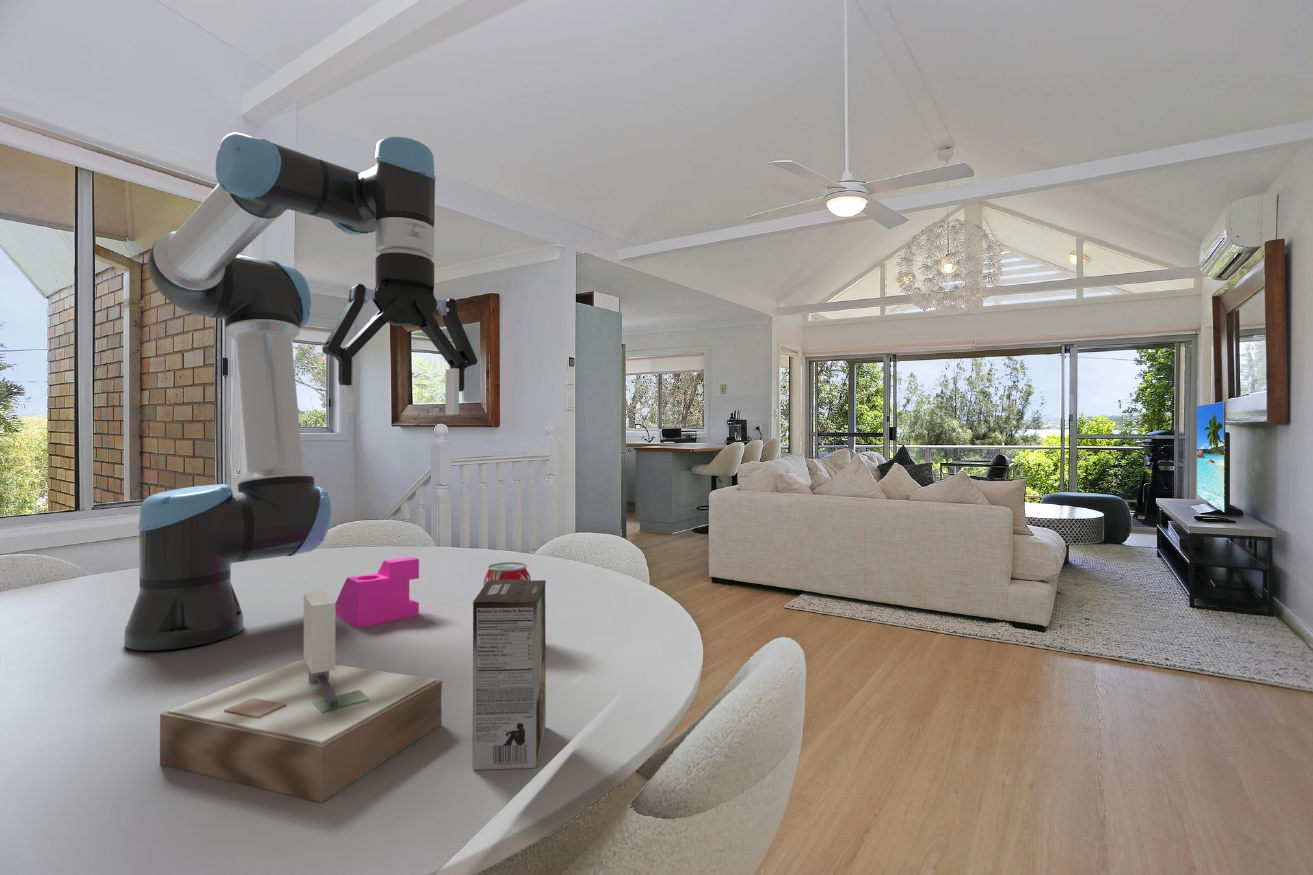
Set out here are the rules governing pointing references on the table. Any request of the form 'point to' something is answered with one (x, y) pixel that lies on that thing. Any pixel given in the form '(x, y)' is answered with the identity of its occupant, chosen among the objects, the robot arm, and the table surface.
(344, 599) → the bracket
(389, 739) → the switch box
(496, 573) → the soda can
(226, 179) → the robot arm
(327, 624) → the switch lever
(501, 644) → the coffee box
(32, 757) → the table surface
